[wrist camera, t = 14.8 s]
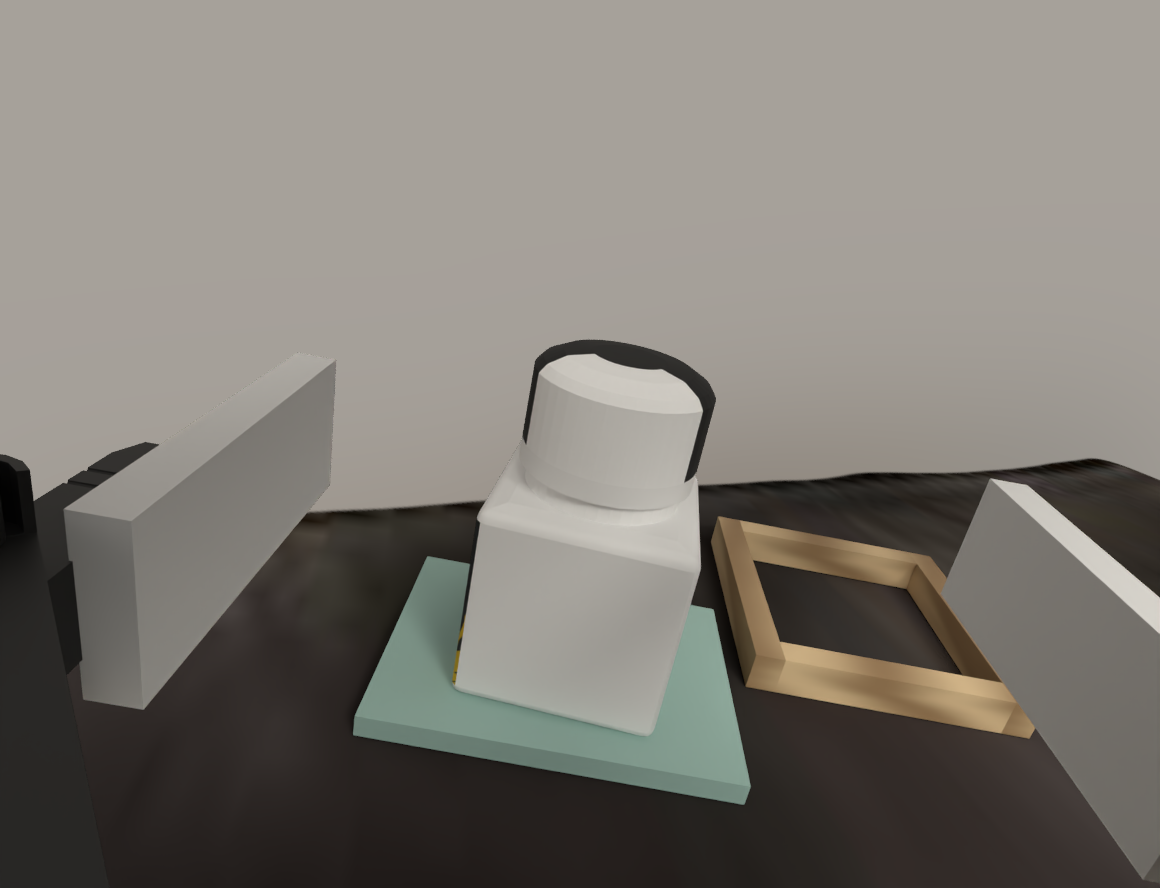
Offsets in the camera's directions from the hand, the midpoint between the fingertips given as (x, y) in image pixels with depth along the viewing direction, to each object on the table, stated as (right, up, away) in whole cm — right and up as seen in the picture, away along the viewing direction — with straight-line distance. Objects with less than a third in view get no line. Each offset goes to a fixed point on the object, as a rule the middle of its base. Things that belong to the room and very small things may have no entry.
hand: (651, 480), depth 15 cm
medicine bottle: (-2, -8, +14) cm, 16 cm away
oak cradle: (+11, -8, +21) cm, 25 cm away
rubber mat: (-2, -8, +14) cm, 16 cm away
